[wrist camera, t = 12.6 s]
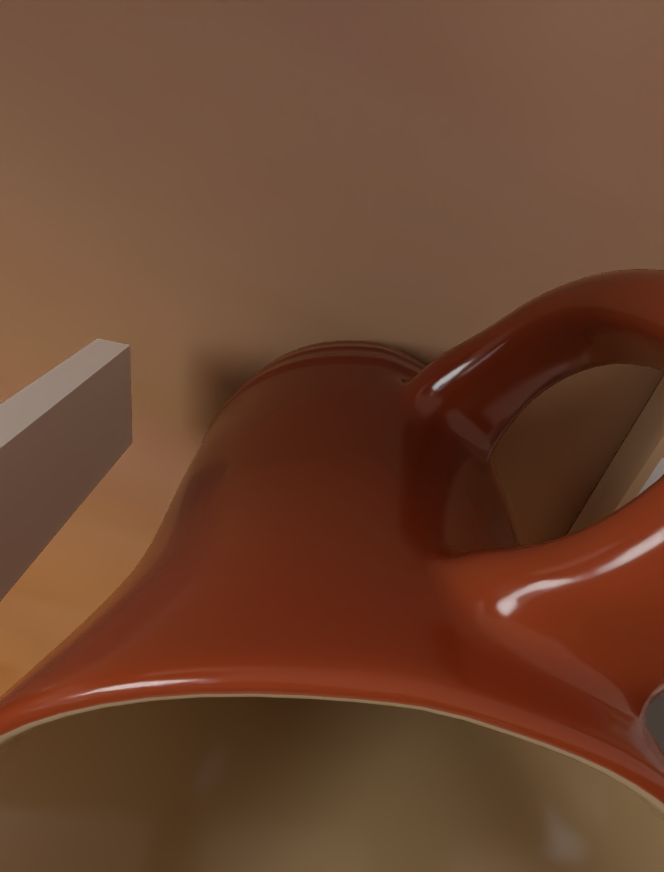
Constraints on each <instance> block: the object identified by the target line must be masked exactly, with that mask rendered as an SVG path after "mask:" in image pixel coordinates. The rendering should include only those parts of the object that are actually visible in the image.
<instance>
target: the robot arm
mask: <svg viewBox="0 0 664 872" xmlns="http://www.w3.org/2000/svg"><path fill="white" fill-rule="evenodd" d="M131 443H132V407H131V363H130V345H127V344H122V343H118V342H113V341H108V340H103V339H99V338H97V339H96V340H94V341H93V342H91V343H90V344H89V345H87V346H86V347H84V348H83V349H81V350H80V351H78V352H77V353H75V354H74V355H72V356H71V357H69V358H68V359H66V360H65V361H63V362H62V363H60V364H59V365H57V366H56V367H55V368H53V369H52V370H50V371H49V372H47V373H46V374H44V375H43V376H41V377H40V378H38V379H37V380H35V381H34V382H32V383H31V384H29V385H28V386H26V387H25V388H24V389H22V390H21V391H19V392H18V393H16V394H15V395H13V396H12V397H10V398H9V399H7V400H6V401H4V402H3V403H1V404H0V601H1V600H2V599H3V597H4V596H5V595H6V594H7V593H8V591H9V590H10V589H11V588H12V587H13V585H14V584H15V583H16V582H17V581H18V579H19V578H20V577H21V576H22V575H23V573H24V572H25V571H26V570H27V569H28V567H29V566H30V565H31V564H32V563H33V561H34V560H35V559H36V558H37V557H38V555H39V554H40V553H41V552H42V551H43V549H44V548H45V547H46V546H47V545H48V543H49V542H50V541H51V540H52V538H53V537H54V536H55V535H56V534H57V532H58V531H59V530H60V529H61V528H62V526H63V525H64V524H65V523H66V522H67V520H68V519H69V518H70V517H71V516H72V514H73V513H74V512H75V511H76V510H77V508H78V507H79V506H80V505H81V504H82V502H83V501H84V500H85V499H86V498H87V496H88V495H89V494H90V493H91V492H92V490H93V489H94V488H95V487H96V486H97V484H98V483H99V482H100V481H101V479H102V478H103V477H104V476H105V475H106V473H107V472H108V471H109V470H110V469H111V467H112V466H113V465H114V464H115V463H116V461H117V460H118V459H119V458H120V457H121V455H122V454H123V453H124V452H125V451H126V449H127V448H128V447H129V446H130V445H131ZM663 474H664V458H662V459H661V460H660V462H659V463H658V465H657V466H656V468H655V469H654V471H653V472H652V474H651V475H650V477H649V478H648V480H647V481H646V483H645V484H644V486H643V487H642V489H641V490H640V492H639V493H638V495H639V494H641V493H642V492H643V491H644V490H646V489H647V488H648V487H649V486H651V485H652V484H653V483H654V482H656V481H657V480H658V479H659V478H660V477H661V476H662V475H663ZM638 495H637V496H638ZM637 496H636V497H637Z"/></svg>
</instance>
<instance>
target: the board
mask: <svg viewBox="0 0 664 872" xmlns="http://www.w3.org/2000/svg"><path fill="white" fill-rule="evenodd" d="M662 458H664V376H663V378H662V379H661V381H660V383H659V384H658V386H657V388H656V389H655V391H654V393H653V394H652V396H651V398H650V399H649V401H648V402H647V404H646V406H645V407H644V409H643V411H642V412H641V414H640V416H639V417H638V419H637V421H636V422H635V424H634V425H633V427H632V429H631V430H630V432H629V434H628V435H627V437H626V439H625V440H624V442H623V443H622V445H621V447H620V448H619V450H618V452H617V453H616V455H615V457H614V458H613V460H612V462H611V463H610V465H609V466H608V468H607V470H606V471H605V473H604V475H603V476H602V478H601V480H600V481H599V483H598V485H597V486H596V488H595V489H594V491H593V493H592V494H591V496H590V498H589V499H588V501H587V503H586V504H585V506H584V507H583V509H582V511H581V512H580V514H579V516H578V517H577V519H576V521H575V522H574V524H573V526H572V527H571V529H570V530H569V532H568V534H570V533H573V532H575V531H578V530H580V529H582V528H584V527H587V526H589V525H591V524H593V523H595V522H597V521H599V520H600V519H602V518H604V517H606V516H607V515H609V514H611V513H613V512H614V511H616V510H618V509H619V508H621V507H622V506H624V505H625V504H627V503H628V502H629V501H631V500H632V499H634V498H635V497H636V496H637V495H638V493H639V492H640V490H641V489H642V487H643V486H644V484H645V483H646V481H647V480H648V478H649V477H650V475H651V474H652V472H653V471H654V469H655V468H656V466H657V465H658V463H659V462H660V460H661V459H662ZM568 534H567V535H568ZM662 694H663V695H664V692H663V693H662Z"/></svg>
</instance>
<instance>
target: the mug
mask: <svg viewBox="0 0 664 872" xmlns="http://www.w3.org/2000/svg"><path fill="white" fill-rule="evenodd" d="M610 364H634V365H641V366H647V367H651V368H654V369H658V370H662V371H664V270H649V269H632V270H619V271H612V272H606V273H601V274H597V275H593V276H589V277H585V278H582V279H579V280H576V281H573V282H570V283H568V284H565V285H563V286H560V287H558V288H555V289H553V290H551V291H548V292H546V293H544V294H542V295H540V296H538V297H536V298H534V299H532V300H531V301H529V302H527V303H526V304H524V305H522V306H521V307H519V308H517V309H516V310H514V311H513V312H511V313H510V314H508V315H507V316H505V317H504V318H502V319H501V320H499V321H498V322H496V323H495V324H493V325H492V326H490V327H488V328H487V329H485V330H484V331H482V332H481V333H479V334H477V335H475V336H474V337H472V338H470V339H468V340H467V341H465V342H463V343H461V344H459V345H458V346H456V347H454V348H452V349H451V350H449V351H447V352H446V353H444V354H442V355H441V356H439V357H438V358H436V359H435V360H433V361H432V362H431V363H430V364H428V365H427V366H426V365H424V364H423V363H421V362H420V361H418V360H416V359H415V358H413V357H411V356H409V355H407V354H405V353H403V352H401V351H399V350H397V349H394V348H392V347H390V346H387V345H384V344H381V343H376V342H368V341H332V342H323V343H318V344H313V345H309V346H306V347H302V348H299V349H297V350H294V351H292V352H289V353H287V354H285V355H283V356H281V357H279V358H277V359H276V360H274V361H273V362H271V363H270V364H268V365H267V366H265V367H264V368H263V369H262V370H260V371H259V372H257V373H256V374H254V375H253V376H252V377H251V378H250V379H249V380H247V381H246V382H245V383H244V384H243V385H242V386H241V387H240V388H239V389H238V390H237V392H236V393H234V394H233V395H232V396H231V397H230V398H229V399H228V400H227V401H226V403H225V404H224V405H223V406H222V407H221V408H220V410H219V411H218V413H217V414H216V415H215V417H214V418H213V420H212V422H211V424H210V425H209V427H208V429H207V432H206V434H205V437H204V439H203V442H202V445H201V447H200V448H199V450H198V452H197V454H196V455H195V457H194V459H193V461H192V463H191V464H190V466H189V468H188V470H187V472H186V474H185V475H184V477H183V479H182V481H181V483H180V485H179V487H178V489H177V491H176V494H175V496H174V498H173V500H172V502H171V504H170V507H169V509H168V511H167V513H166V515H165V517H164V519H163V522H162V524H161V526H160V528H159V530H158V532H157V534H156V536H155V538H154V540H153V541H152V543H151V545H150V547H149V548H148V550H147V552H146V553H145V555H144V556H143V558H142V559H141V560H140V562H139V563H138V565H137V566H136V568H135V569H134V570H133V571H132V572H131V574H130V575H129V576H128V577H127V578H126V579H125V581H124V582H123V583H122V584H121V585H120V586H119V587H118V588H117V589H116V590H115V591H114V592H113V593H112V594H111V596H110V597H109V598H108V599H107V600H106V601H105V602H104V603H103V604H102V605H101V606H100V607H99V608H98V609H97V610H96V611H95V612H94V613H93V614H92V615H90V616H89V617H88V618H87V619H86V620H85V621H84V622H83V623H82V624H81V625H80V626H79V627H78V628H77V629H76V630H75V631H74V632H72V633H71V634H70V635H69V636H68V637H67V638H66V639H65V640H64V641H63V642H62V643H60V644H59V645H58V646H57V647H56V648H55V649H54V650H53V651H52V652H50V653H49V654H48V655H47V656H46V657H45V658H44V659H43V660H42V661H40V662H39V663H38V664H37V665H36V666H35V667H34V668H33V669H31V670H30V671H29V672H28V673H27V674H26V675H25V676H24V677H22V678H21V679H20V680H19V681H18V682H17V683H16V684H15V685H13V686H12V687H11V688H10V689H9V690H8V691H7V692H6V693H4V694H3V695H2V696H1V697H0V872H664V751H663V750H662V749H661V747H660V746H659V744H658V743H657V741H656V740H655V739H654V737H653V736H652V734H651V733H650V732H649V730H648V729H647V726H646V713H647V710H648V708H649V706H650V704H651V703H652V702H653V701H654V700H655V699H656V698H657V697H658V696H659V695H660V694H662V693H663V692H664V474H663V475H662V476H661V477H660V478H659V479H658V480H657V481H656V482H654V483H653V484H652V485H651V486H649V487H648V488H647V489H646V490H644V491H643V492H642V493H641V494H639V495H638V496H637V497H635V498H634V499H632V500H631V501H629V502H628V503H627V504H625V505H624V506H622V507H621V508H619V509H618V510H616V511H614V512H613V513H611V514H609V515H607V516H606V517H604V518H602V519H600V520H599V521H597V522H595V523H593V524H591V525H589V526H587V527H584V528H582V529H580V530H578V531H575V532H573V533H570V534H568V535H565V536H563V537H559V538H556V539H552V540H549V541H545V542H540V543H535V544H530V545H522V546H520V544H519V540H518V537H517V533H516V530H515V526H514V523H513V520H512V516H511V513H510V510H509V506H508V503H507V500H506V497H505V495H504V492H503V489H502V486H501V483H500V480H499V477H498V475H497V472H496V469H495V467H494V464H493V462H492V454H493V451H494V449H495V446H496V445H497V443H498V442H499V440H500V438H501V437H502V436H503V434H504V433H505V432H506V430H507V429H508V428H509V426H510V425H511V424H512V422H513V421H514V420H515V418H516V417H517V416H518V415H519V413H520V412H521V411H522V410H523V409H524V408H525V407H526V406H527V405H528V404H529V403H530V402H531V401H532V400H533V399H535V398H536V397H537V396H538V395H540V394H541V393H542V392H543V391H545V390H546V389H548V388H549V387H551V386H552V385H554V384H556V383H558V382H560V381H561V380H563V379H565V378H567V377H569V376H572V375H574V374H576V373H579V372H581V371H585V370H588V369H591V368H594V367H599V366H604V365H610Z"/></svg>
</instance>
